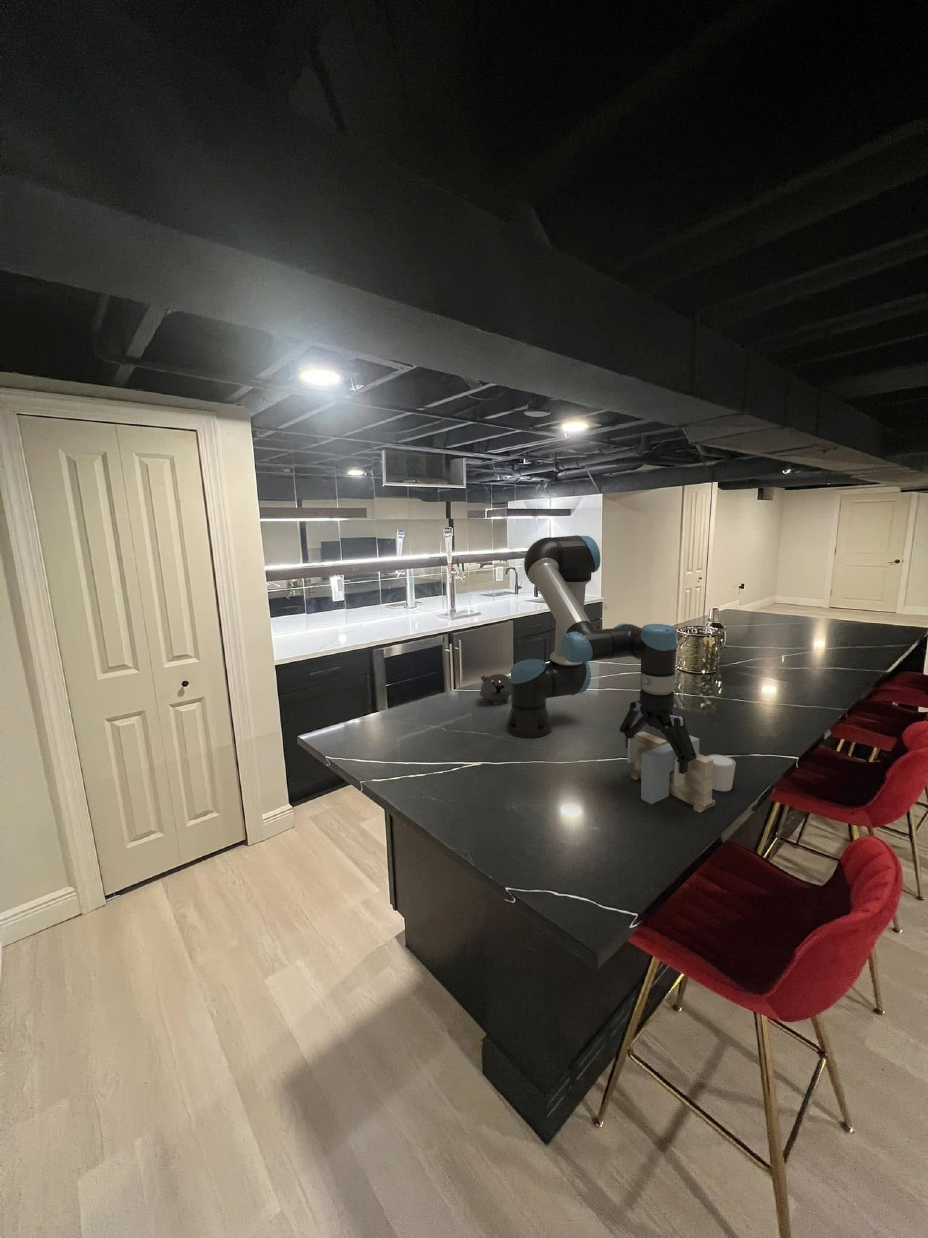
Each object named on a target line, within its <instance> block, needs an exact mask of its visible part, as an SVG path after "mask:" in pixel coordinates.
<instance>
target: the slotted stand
mask: <svg viewBox="0 0 928 1238" xmlns="http://www.w3.org/2000/svg"><path fill="white" fill-rule="evenodd" d="M634 736H637V737H638V744H637V761H634V772H633V773H631V774H630V778H631V779H633V780H635V781H636V780H639V779H640V780H641V769H642V753H644V752H647V751H649V750H652V749H654V748H657V747H660V746H662V745H665V744H667V743H668V740H667V739H664V738H661V737H658V736H656V735H654V734H652V733H648V732H646V731H644V730H642V731H639V732H637V733H636V734H635V735H634ZM695 753H696V752H695ZM682 755H683V754H682ZM696 756H697V758H696V759H694V760H692V761H689V762H688V771H687V772H686V773H685V775H684V783H683V784H681V785H679V786H677V787H676V786H674V770H673V771H671V772H669V795H672V796H673V797H676V798H677V799H679V800H682V801H683V802H685V803H687V804H690V805H692V806H693V807H692V810H693V811H695V812H697V813H699V814H700V813H702V812H704V811H706V810H708V809H710V808H711V807H714V806H715V805H716V800H715V799H712V798H713V789H712V783H713V760H714V759H711V758H709V757H706V756H707V755H706V756H705V755H703V754H701V753H700V752H699V753H696Z"/></svg>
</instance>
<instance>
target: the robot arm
mask: <svg viewBox="0 0 928 1238" xmlns="http://www.w3.org/2000/svg"><path fill="white" fill-rule="evenodd" d="M597 544H598V543H597V542H596V541H595V539H594V538H592V537H591V536H589V535H578V534H577V535H567V536H565V535H563V536H554V537H552V536H549V537H548V536H547V537H542V538H540V539H538V540H536V541H535V542H534V543H532V544H531V545H530V547H529V548H528V550H527V551H526V554H525V556H524V561H523V569H524V572H525V575H526V578H527V579H528V580H529V582H530V584H533V585H535V586H536V588H537V589H538V591H539V593H540V595H541V597H542V598H543V600H544V602H545V603H546V606H547V607H548V608H549V611H550V613H551V614H552V616H553V619H554V620H555V637H554V638H555V639H554V651H553V652H552V653H551V654H550V655H549V662H546V661H544V660H543V659H538V658H529V659H524V660H520V661H518V662H516V663H514V664H513V665H512V666H511V668H510V676H511V677H510V682H511V695H510V698H511V699H510V700H511V701H510V703H511V707H510V710H509V714H508V718H507V721H506V727H507V728H506V729H507V732H508V733H509V734H511V735H512V736H515V737H519V738H527V739H533V738H535V739H536V738H541V737H542V738H543V737H545V736H546V735H549V734H551V732H552V731H553V724H552V720H551V717H550V714H549V712H548V709H547V699H549V698H558V697H564V696H565V697H566V696H575V695H578V694H582V693H584V692H586V691H587V690H588V688H589V687H590V684H591V680H592V671H590V670H591V666H590V664H589V662H593V661H594V662H595V661H601V660H602V661H603V660H611V659H620V658H627V657H631V658H634V659H637V660H638V661H640V682H639V683H640V688H641V689H640V690H639V700H635V701H631V702H630V704H629V710H628V712H627V713H626V716H625V717H624V720H623V722H622V723H621V725H620V727H619V732H620V733H623V734H624V736H625V747H626V749H627V763H629V764H631V763H633V762H634V763H635V761H637V744H638V737H637V736H635V734H637V733H639V732H640V731H641V730H642V729H643V728H644V727H645V726H646V725H647V726H649V727H653V728H654V729H656V730H659V731H660V732H661V733H662V734H663V735H664V736H665V738H666V741H667V743H670V745H671V747H672V749H673V750H674V752H675V754H676V756H677V759H675V768H674V786H676V787H677V786H679V785H681V784H683V783H684V775H685V773H686V772H687V771H688V762H689V761H692V760H694V759H696V758H697V756H696V753H695V750H694V747H693V745H692V742H691V739H690V737H689V735H690V734H689V731H688V729H687V726H686V717H685V716H684V715H680V716H678V715H674V713H673V709H674V704H675V692H674V690H675V689H676V688H675V685H676V684H675V683H676V681H675V679H676V674H675V672H676V671H675V670H676V657H677V655H676V654H677V644H678V642H677V632H676V631H677V630H676V628H675V627H674V626H673V625H670V624H662V623H647V624H645V625H643V626H642V627H639V626H637V625H635V624H630V623H619V624H618V625H616V626H615V627H613V628H603V629H596V628H595V626H594V625H593V623H592V621H590V619H589V617H588V615H587V614H586V612H585V603H586V602H585V599H586V585H587V584H589V582H590V581H592V574H593V573H595V572H597V571H598V570H599V568H600V566H601V552H600V548H599V546H598V545H597ZM639 712H640V713H641V715H642V716H641V717H639V718H638V720H637V721H636V722H635V720H636V718H637V716H638V715H639ZM634 722H635V723H634ZM633 723H634V724H633ZM682 754H683V755H682Z"/></svg>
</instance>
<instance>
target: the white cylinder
mask: <svg viewBox="0 0 928 1238" xmlns="http://www.w3.org/2000/svg"><path fill="white" fill-rule="evenodd" d="M706 757H709V758H711V759H714V760H713V783H712V790H715V791H719V792H729V791H731V790H732V789H733V788H732V787H733V783H734V777H735V770H736V763H737V762H736V761H735V760H734V759H733V758H732V757H730V756H727V755H723V754H715V753H714V754H709V755H706Z"/></svg>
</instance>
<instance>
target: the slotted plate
mask: <svg viewBox="0 0 928 1238" xmlns="http://www.w3.org/2000/svg"><path fill="white" fill-rule="evenodd" d="M689 737H690V739H691V742H692V745H693V747H694V750H695V752H696V753H699V754H700V740H701V739H700V738H698V737H695V736H693V735H690V734H689ZM675 759H677V756H676V754H675V752H674V750H673V749H672V747H671V745H670V743H669V742H667V744H665V745H662V746H660V747H657V748H654V749H652V750H649V751H647V752H644V753H642V769H641V779H640V783H641V784H640V800H642V801H644V802H646V803H648V804H650V805H652V804H655V803H657V802H659V801H662V800H663V799H665V798H668V797H670V794H669V772H671V771H673V770H674V768H675Z"/></svg>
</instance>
